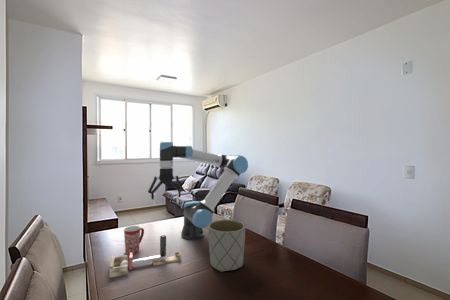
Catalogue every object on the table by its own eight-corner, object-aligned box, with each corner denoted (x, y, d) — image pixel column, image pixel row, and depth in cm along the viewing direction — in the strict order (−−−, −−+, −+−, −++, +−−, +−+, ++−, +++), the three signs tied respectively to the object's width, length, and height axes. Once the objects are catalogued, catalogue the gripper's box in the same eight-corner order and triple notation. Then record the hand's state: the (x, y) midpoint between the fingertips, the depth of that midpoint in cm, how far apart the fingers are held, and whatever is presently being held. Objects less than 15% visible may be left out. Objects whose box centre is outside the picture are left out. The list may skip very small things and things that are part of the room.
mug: (130, 256, 126) (131, 232, 126) (120, 253, 131) (120, 229, 131) (148, 248, 137) (148, 225, 137) (138, 245, 142) (138, 223, 142)
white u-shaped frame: (165, 258, 124) (165, 234, 124) (166, 263, 118) (167, 238, 118) (129, 264, 117) (129, 238, 117) (129, 270, 112) (129, 243, 111)
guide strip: (178, 256, 126) (179, 251, 126) (180, 260, 122) (180, 254, 122) (152, 261, 121) (152, 255, 121) (153, 265, 117) (153, 259, 117)
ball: (118, 263, 114) (123, 268, 115) (118, 266, 110) (123, 272, 111) (125, 257, 115) (130, 262, 116) (125, 260, 112) (130, 266, 113)
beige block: (127, 262, 119) (127, 253, 119) (127, 274, 108) (127, 263, 108) (111, 265, 116) (111, 255, 116) (109, 277, 105) (109, 266, 105)
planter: (218, 278, 106) (218, 234, 106) (202, 260, 122) (202, 222, 122) (252, 268, 114) (252, 228, 114) (233, 252, 131) (233, 217, 131)
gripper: (185, 166, 144) (185, 200, 144) (143, 167, 134) (143, 204, 134) (188, 167, 137) (188, 203, 137) (144, 169, 127) (144, 207, 127)
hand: (166, 203), depth 136 cm, fingers open, 13 cm apart
